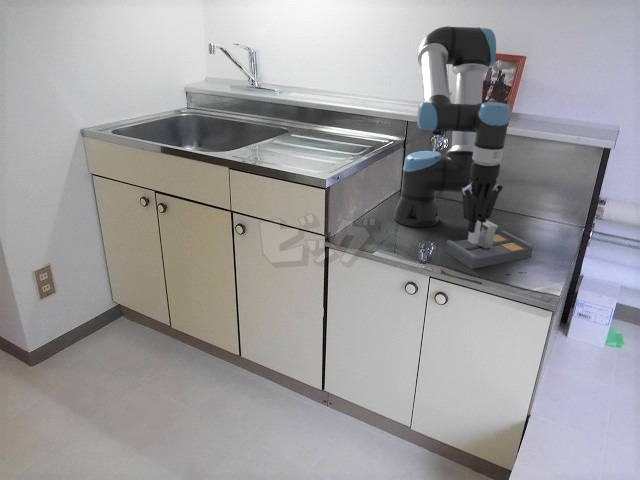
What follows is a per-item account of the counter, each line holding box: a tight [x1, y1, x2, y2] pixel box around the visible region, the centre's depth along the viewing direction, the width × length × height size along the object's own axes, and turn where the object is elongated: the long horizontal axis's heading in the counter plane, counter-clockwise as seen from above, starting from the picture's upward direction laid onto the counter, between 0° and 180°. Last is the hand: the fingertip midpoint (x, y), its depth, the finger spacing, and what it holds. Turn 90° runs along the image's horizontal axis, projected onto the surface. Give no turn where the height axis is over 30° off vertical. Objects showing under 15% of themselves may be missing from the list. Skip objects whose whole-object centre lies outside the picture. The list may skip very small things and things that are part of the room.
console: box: [445, 230, 534, 270], centre depth 152 cm, size 12×22×4 cm, turn 114°
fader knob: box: [477, 219, 498, 248], centre depth 149 cm, size 5×4×7 cm
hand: (472, 241), depth 148 cm, fingers closed
